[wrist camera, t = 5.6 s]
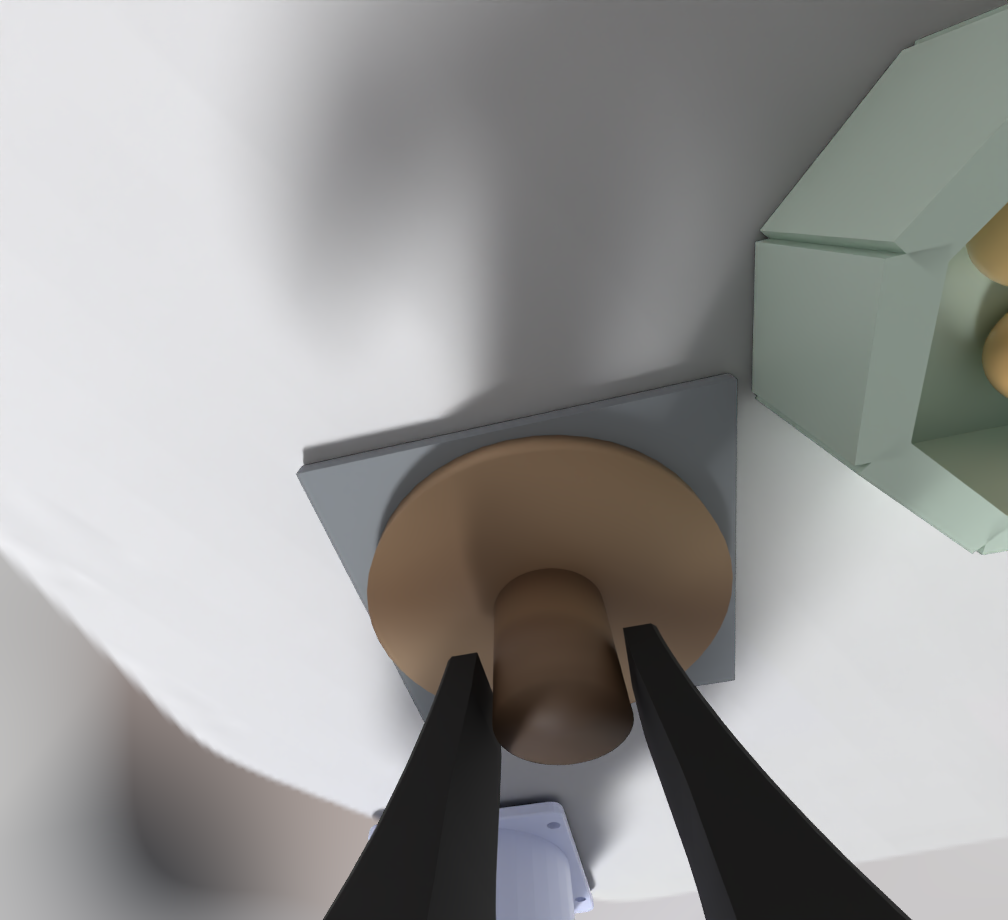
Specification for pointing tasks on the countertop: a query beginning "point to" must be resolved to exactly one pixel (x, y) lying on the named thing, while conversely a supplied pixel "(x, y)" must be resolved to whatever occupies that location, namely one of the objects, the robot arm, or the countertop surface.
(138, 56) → the countertop surface
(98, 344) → the countertop surface
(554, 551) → the lid
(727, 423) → the mat
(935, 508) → the bowl
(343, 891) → the robot arm
